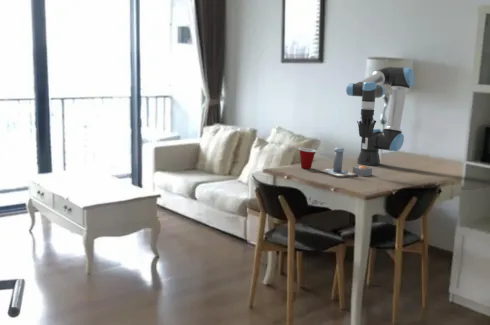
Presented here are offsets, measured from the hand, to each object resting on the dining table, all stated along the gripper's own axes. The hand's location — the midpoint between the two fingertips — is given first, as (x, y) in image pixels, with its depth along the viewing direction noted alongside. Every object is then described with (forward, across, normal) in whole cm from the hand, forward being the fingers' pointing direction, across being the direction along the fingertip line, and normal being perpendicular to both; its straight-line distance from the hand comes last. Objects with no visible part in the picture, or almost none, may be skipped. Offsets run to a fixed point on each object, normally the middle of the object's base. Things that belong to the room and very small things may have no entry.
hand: (364, 148), depth 326 cm
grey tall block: (+14, +15, -6) cm, 21 cm away
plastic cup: (+16, +23, -26) cm, 38 cm away
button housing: (+16, +1, 0) cm, 16 cm away
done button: (+13, +1, 0) cm, 13 cm away
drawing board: (+15, +15, -6) cm, 22 cm away
